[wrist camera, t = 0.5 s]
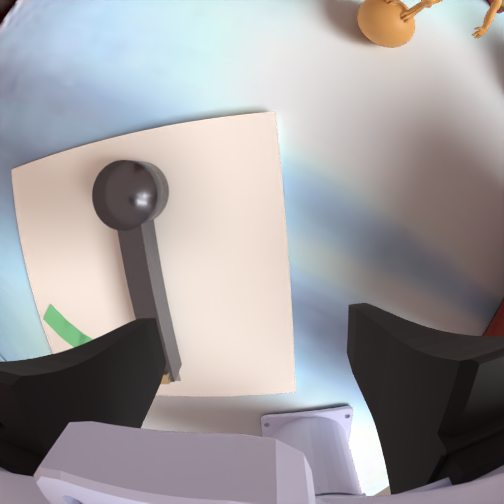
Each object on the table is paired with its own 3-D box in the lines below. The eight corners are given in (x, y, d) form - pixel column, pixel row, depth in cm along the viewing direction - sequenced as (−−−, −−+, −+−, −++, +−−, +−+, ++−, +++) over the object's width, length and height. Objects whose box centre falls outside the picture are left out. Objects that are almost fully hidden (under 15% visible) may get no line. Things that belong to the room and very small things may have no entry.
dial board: (294, 384, 23) (295, 392, 22) (71, 380, 24) (65, 386, 23) (274, 114, 19) (275, 111, 18) (18, 169, 20) (10, 169, 19)
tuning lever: (109, 167, 18) (88, 167, 16) (165, 156, 18) (149, 153, 16) (148, 362, 22) (136, 383, 19) (198, 362, 22) (190, 385, 19)
